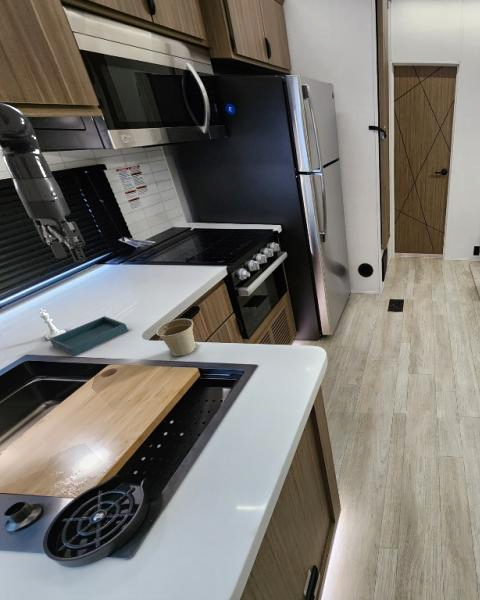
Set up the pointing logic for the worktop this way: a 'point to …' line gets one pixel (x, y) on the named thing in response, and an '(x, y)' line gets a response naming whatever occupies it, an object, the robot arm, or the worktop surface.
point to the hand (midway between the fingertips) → (71, 259)
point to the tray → (88, 335)
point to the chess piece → (50, 325)
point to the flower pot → (178, 336)
